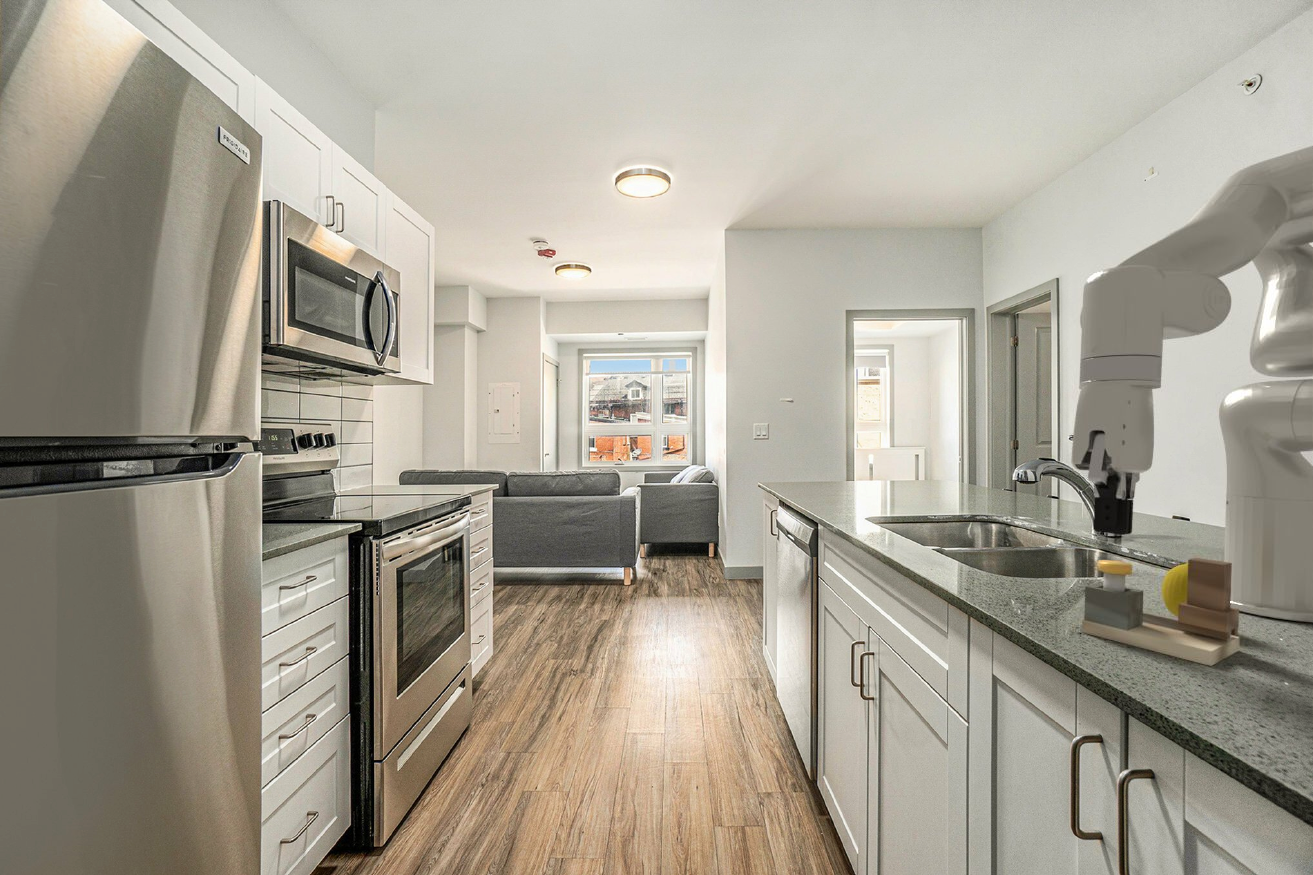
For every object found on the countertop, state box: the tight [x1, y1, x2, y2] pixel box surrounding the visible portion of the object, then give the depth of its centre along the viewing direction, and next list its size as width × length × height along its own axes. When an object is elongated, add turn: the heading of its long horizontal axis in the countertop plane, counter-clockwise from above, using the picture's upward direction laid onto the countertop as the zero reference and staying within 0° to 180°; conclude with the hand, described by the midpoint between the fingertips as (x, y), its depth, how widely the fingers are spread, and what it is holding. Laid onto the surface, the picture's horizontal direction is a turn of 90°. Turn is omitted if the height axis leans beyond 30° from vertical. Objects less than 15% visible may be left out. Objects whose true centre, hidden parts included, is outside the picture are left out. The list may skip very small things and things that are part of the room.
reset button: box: [1097, 559, 1133, 593], centre depth 69 cm, size 3×3×5 cm
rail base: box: [1081, 582, 1241, 667], centre depth 67 cm, size 9×12×6 cm
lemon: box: [1161, 562, 1188, 618], centre depth 73 cm, size 6×6×8 cm
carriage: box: [1177, 557, 1240, 640], centre depth 65 cm, size 4×4×8 cm
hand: (1112, 532), depth 68 cm, fingers closed
